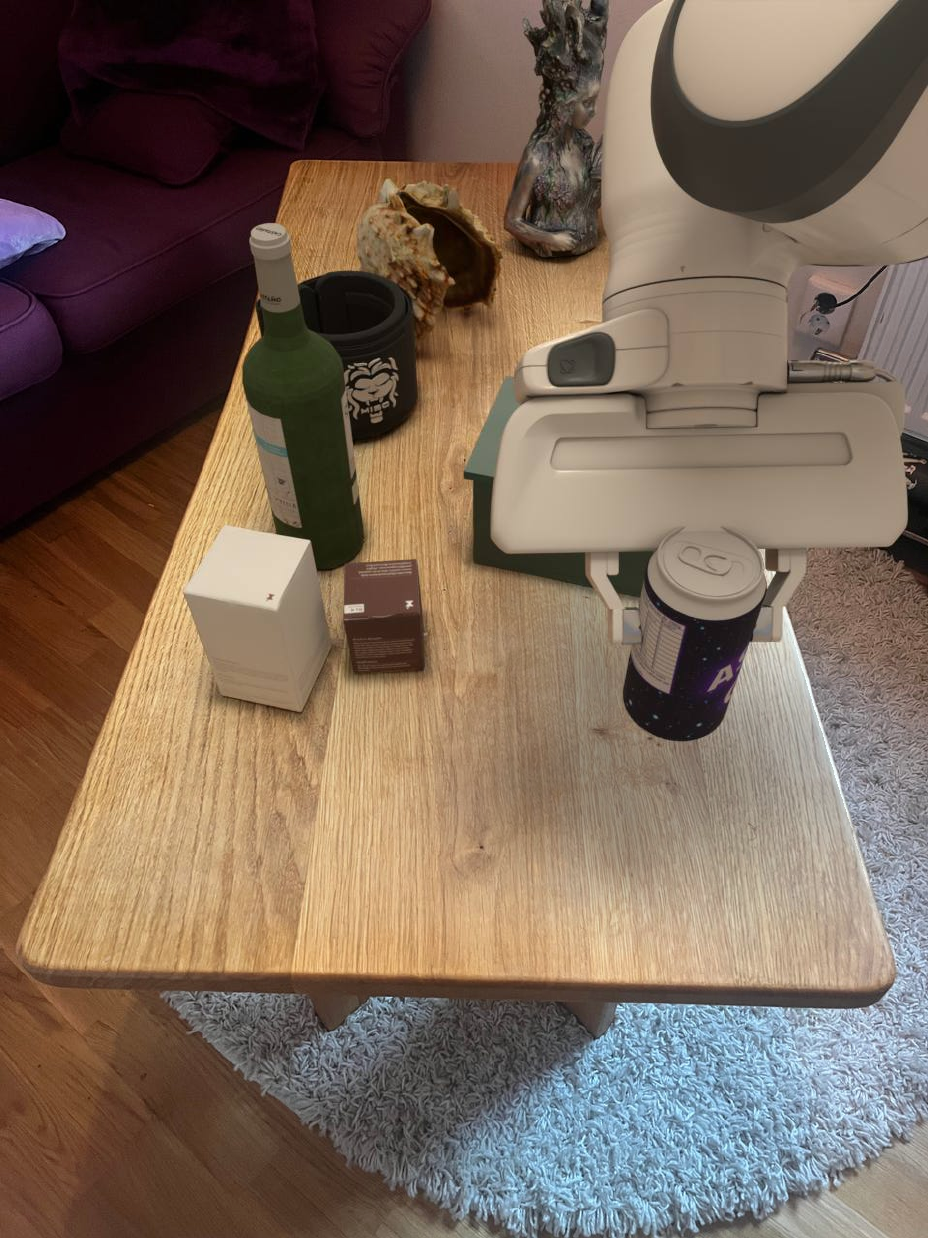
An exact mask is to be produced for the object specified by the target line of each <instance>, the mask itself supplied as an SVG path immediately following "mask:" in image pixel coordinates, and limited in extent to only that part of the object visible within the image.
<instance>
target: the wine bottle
mask: <svg viewBox="0 0 928 1238" xmlns="http://www.w3.org/2000/svg"><path fill="white" fill-rule="evenodd" d="M249 246H250V251H251V254H252V255H253V260H254V267H255V273H256V280H257V287H258V293H259V299H260V301H261V307H262V314H263V321H264V327H265V330H264V335H263V336H262V337H261V336H260V338H259V339H258V340H256V342H255V343H254V344H253V345H252V346H251V347H250V348H249V350H248V352H247V354H246V355H245V358H244V360H243V363H242V367H241V369H242V370H241V371H242V372H241V382H242V386H243V391H244V396H245V401H246V404H247V408H248V414H249V417H250V423H251V426H252V431H253V436H254V440H255V444H256V445H255V446H256V449H257V454H258V458H259V462H260V467H261V472H262V475H263V480H264V485H265V489H266V493H267V497H268V502H269V507H270V511H271V515H272V520H273V525H274V529H275V534H277V535H283V536H288V537H294V538H300V539H305V540H310V541H311V545H312V551H313V555H314V560H315V565H316V570H317V571H322V570H331V569H334V568H336V567H339V566H343V565H345V563H348V562H349V561H351V560H352V559H353V558H355V556H356V555H357V554H358V553H359V552H360V550H361V549H362V546H363V544H364V540H365V531H364V521H363V513H362V506H361V498H360V489H359V484H358V483H359V481H358V475H357V467H356V466H357V465H356V459H355V450H354V443H353V440H352V434H351V426H350V418H349V410H348V402H347V394H346V386H345V378H344V370H343V363H342V360H341V357H340V356H339V354H338V353H337V351H336V350H335V349H334V347H333V346H332V345H331V343H330V342H329V341H327V340H326V339H324V338H322V337H321V336H319V335H318V334H316V333H315V332H313V331H311V330H309V329H308V328H307V326H306V325H305V322H304V317H303V312H302V307H301V301H300V296H299V291H298V286H297V284H298V281H297V276H296V272H295V267H294V261H293V257H292V242H291V237H290V234H289V232H288V231H287V229H286V227H285V226H283V225H282V224H280V223H276V222H275V223H274V222H267V223H262V224H258V225H256V226H254V227H253V228H252V230H250V237H249Z"/></svg>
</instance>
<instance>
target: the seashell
mask: <svg viewBox="0 0 928 1238" xmlns="http://www.w3.org/2000/svg"><path fill="white" fill-rule="evenodd" d="M377 199H378V203H377V204H373V205H371V206H370V207H369V206H368V208H367V209H366V211H365V212H363V214H362V216H361V218H360V221H359V224H358V226H357V231H356V240H357V241H356V242H357V249H356V255H357V259H358V260H359V262H360V268H359V269H358V271H363V272H369V273H373V274H377V275H379V276H382V277H384V278H386V279H389V280H391V281H393V282H395V283H396V284H398V285H399V286H401V287H402V288H404V289H405V290H406V291H407V292H408V293H409V294H410V296H411V298H412V302H413V317H414V335H415V352H416V354H417V353H418V352H419V351H420V350H421V347H422V344H423V339H424V338H425V337H426V336H428V335H429V334H431V333H432V332H433V331H434V330H435V327H436V325H437V321H438V319H439V317H440V313H441V311H442V309H443V308H446V309H449V310H453V309H457V308H460V309H461V308H462V309H463V310H464V311H465V312H466V313H468V312H470V311H471V310H472V308H475V306H476V305H478V304H483V305H485V306H486V308H488V309H490V310H493V309H494V301H495V296H496V293H495V292H496V291H498V289H497V280H498V279H499V277H500V275H501V271H502V265H501V260H502V259H503V258H504V256H503V254H502V253H503V249H502V248H501V244H499V242H497V241H495V238H494V235H491V234H489V230H488V229H487V228H486V227H484V226H483V225H484V223H483V221H482V220H481V219H480V217H479V216H478V215H475V214H474V213H473V212H472V210H471V209H466V208H465V207H464V206H463V205H462V204H461V202H460V200H459V199H460V198H459V196H458V193H457V189H456V188H455V187H452V189H451V190H450V188H449V183H444V184H443V187H441V186H440V185H438V184H436V183H433V182H431V181H428V180H425V179H424V180H421V181H420V182H417V183H404V184H403V185H401V186H400V187H398V186H397V185H396V184H395V183H394V182H393V180H391V178H385V180H384V182H383V184H382V185H381V187H380V189H379V191H378V197H377Z"/></svg>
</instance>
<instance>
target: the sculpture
mask: <svg viewBox="0 0 928 1238" xmlns="http://www.w3.org/2000/svg"><path fill="white" fill-rule="evenodd" d="M541 4H542V9H540V10H539V11H538V13H539V16H540V18H541V22H542V23H543V25H544V26H543V27H542V28H539V27H538V26H535V27H532V26H531V22H530V20H529V19H528V17H526V16H523V19H522V27H523V34H524V37H525V38H526V39H527V40H528V42H529V44H530V45H531V46H532V48H533V53H534V57H535V65H534V67H533V71H534V73H535V76H536V77H541V78H542V83H541V85H540V86H539V88H538V89H539V90H540V91H539V94H538V105H539V109H540V112H539V114H538V116H537V117H536V119H535V122H536V127H535V128H534V129H533V131H532V132H531V133H530V136H529V140H528V142H527V144H526V145H525V146H524V149H523V151H522V153H521V156H520V159H519V162H518V164H517V167H516V168H517V169H516V173H515V176H514V178H513V181H512V185H511V189H510V192H509V194H508V197H507V202H506V206H505V210H504V215H503V219H502V220H503V230H504V231H506V232H507V233H509V234H510V235H511V236H512V237H514V238H515V239H517V240H518V241H519V242H520V243H521V244H523V245H525V246H527V247H529V248H530V249H532V250H533V251H534V252H535V253H536V254H537V255H538V256H539V257H542V258H543V259H544V258H558V257H559V258H560V257H570V256H571V257H572V256H579V255H581V254H585V253H587V252H589V251H591V250H593V249H594V248H595V247H596V246H597V244H598V241H599V235H598V232H599V231H598V230H599V209H600V208H601V168H602V142H603V133H602V134H601V136H600V137H599V139H598V141H597V142H595V141H594V138H593V137H592V135H590V133H589V132H588V131H587V130H586V129H585V128H586V127H587V125H589V123H590V122H591V120H592V119H593V118H594V117H595V116H596V115H597V114H598V107H597V105H598V96H599V93H600V89H601V84H602V75H603V71H604V66H605V54H604V53H605V50H606V48H607V39H608V27H607V26H608V21H609V18H610V15H611V8H612V7H611V6H612V5H611V4H612V3H611V0H590V2H589V6H588V7H587V8H584V7H583V6H582V5H583V0H541ZM528 208H529V212H528V214H527V211H528Z"/></svg>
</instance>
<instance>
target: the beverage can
mask: <svg viewBox="0 0 928 1238" xmlns="http://www.w3.org/2000/svg"><path fill="white" fill-rule="evenodd" d="M720 527H721V528H722V529H724V530H725V531H726V532H728V533H722V532H718V531H691V532H686V533H683V534H677V533H679V532H680V531H681V530H683V529H684V528H685V526H683V527H680V528H677V529H675V530H674V531H672V532H671V533H669V534H668V535H667V536H666V537H665V538H664V539H663V540H662V542H661V544H660V546H659V548H658V549H657V550H656V551H655V552H654V553H653V554H652V556H651V557H650V559H649V561H648V563H647V566H646V570H645V576H644V581H643V586H642V592H641V597H639V603H638V607H637V608H638V609H639V610H640V619H641V625H640V626H639V629H640V630H641V631H642V641H641V644H632V645H630V650H629V656H628V660H627V666H626V671H625V676H624V682H623V686H622V701H623V705H624V708H625V711H626V712H627V714H628V716H629V717H630V719H631V720H632V721H633V722H634V723H635V724H636V726H638V727H639V728H641V730H643V731H644V732H646V733H647V734H649V735H652V736H654V737H656V738H658V739H662V740H665V741H669V742H678V743H679V742H680V743H681V742H692V741H697V740H700V739H703V738H705V737H707V736H709V735H710V734H712V733H713V732H715V731H716V730H717V729H718V728H719V727H720V725H721V724H722V723H723V721H724V718H725V716H726V714H727V711H728V708H729V704H730V701H731V699H732V695H733V693H734V690H735V687H736V684H737V681H738V678H739V675H740V672H741V670H742V666H743V663H744V660H745V658H746V654H747V653H748V652H747V651H748V649H749V646H750V643H751V642H750V640H751V637H752V634H753V631H754V628H755V625H756V622H757V619H758V616H759V613H760V611H761V608H762V605H763V602H764V599H765V596H766V592H767V588H768V583H767V577H766V574H765V560H764V558H763V554H762V553H761V551H760V549H758V548H757V547H756V545H755V544H754V543H753V542H752V541H751V540H750V539H748V538H747V537H746V536H744V535H743V534H741V533H740V532H738V531H735V530H733V529H731V528H728V527H725V526H720Z"/></svg>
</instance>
